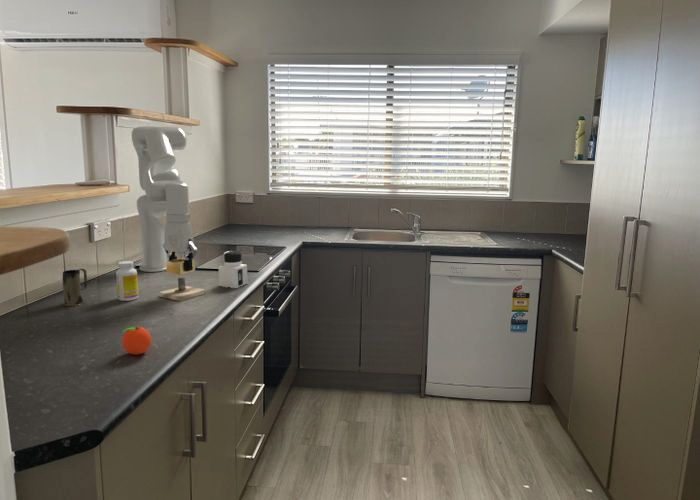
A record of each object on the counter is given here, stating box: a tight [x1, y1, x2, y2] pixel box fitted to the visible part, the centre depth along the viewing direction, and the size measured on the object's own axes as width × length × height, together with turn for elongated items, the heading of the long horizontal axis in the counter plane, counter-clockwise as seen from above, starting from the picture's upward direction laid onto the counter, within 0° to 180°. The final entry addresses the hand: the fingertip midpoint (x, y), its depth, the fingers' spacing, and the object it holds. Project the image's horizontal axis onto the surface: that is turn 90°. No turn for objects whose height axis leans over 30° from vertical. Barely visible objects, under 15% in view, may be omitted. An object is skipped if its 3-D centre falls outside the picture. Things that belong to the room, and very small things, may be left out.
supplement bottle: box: [115, 260, 140, 302], centre depth 183 cm, size 7×7×13 cm
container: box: [218, 250, 248, 289], centre depth 201 cm, size 8×8×13 cm
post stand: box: [158, 277, 206, 302], centre depth 188 cm, size 11×11×6 cm
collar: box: [165, 257, 196, 276], centre depth 187 cm, size 7×7×4 cm
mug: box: [62, 268, 88, 307], centre depth 176 cm, size 8×6×12 cm
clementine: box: [118, 326, 152, 355], centre depth 136 cm, size 8×7×7 cm
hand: (180, 268), depth 187 cm, fingers closed on collar, 6 cm apart
